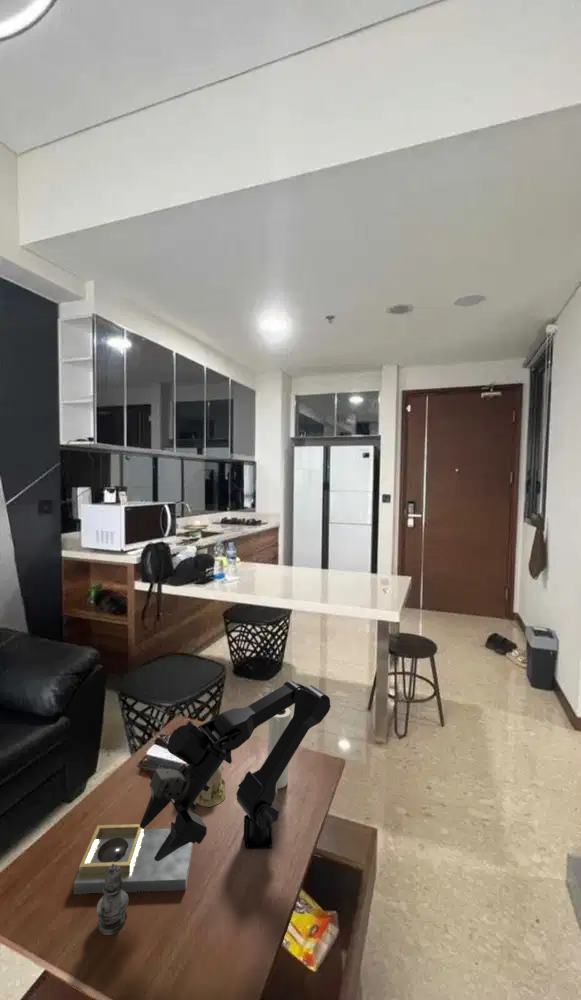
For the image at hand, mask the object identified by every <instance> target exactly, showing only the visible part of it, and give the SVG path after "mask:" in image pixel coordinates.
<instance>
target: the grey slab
mask: <svg viewBox="0 0 581 1000" xmlns="http://www.w3.org/2000/svg"><path fill="white" fill-rule="evenodd" d="M140 824H141V823H137V824H136V823H135V824H133V823H132V824H130V823H129V824H100V825H99V824H97V826H96V829H95V830H94V833H93V835H92V837H91V839H90V841H89V844H88V846H87V848H86V851H85V852H84V855H83V857H82V860H81V862H80V864H79V867H78V873H77V875H76V877H75V880H74V882H73V895H90V894H89V893H101V894H103V893H102V892H103V886H104V884H105V873H106V870H107V869H108V868H109V867H110V866H111V865H112V864H114V865H118V866H119V867H120V869H121V879H122V881H123V885H122V888H121V890H124V891H125V892H128V893H146V892H147V891H148V892H147V893H149V892H150V891H152V892H153V891H154V892H174V891H176V892H177V891H178V892H179V891H186V890H187V885H188V880H189V879H188V878H189V872H190V868H191V862H192V856H193V850H194V845H195V843H191V842H190V843H188V844H186V845H184V846H182V847H180V848H178V849H177V850H175V851H174V852H172V853H171V854H169V855H167V856H166V857H164V858H163V859H161V860H160V861H156V860H155V859H154V858H155V856H156V854H157V852H158V850H159V849H160V847H161V846H162V844H163V843H164V841H165V840H166V838H167V837H168V835H169V834H170V832H171V828H141V827H140ZM137 891H138V892H137ZM140 891H141V892H140ZM143 891H144V892H143ZM145 891H146V892H145ZM152 892H151V893H152ZM87 893H88V894H87Z"/></svg>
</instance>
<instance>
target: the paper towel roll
mask: <svg viewBox="0 0 581 1000" xmlns="http://www.w3.org/2000/svg"><path fill="white" fill-rule="evenodd" d="M290 721H291V709H290V708H289V707H288V708H286V709H285V710H283V711H282V712H280V713H278V714H277V715H275V716H274V717H272V718H270V719H269V720H268V738H267V739H268V745H267V748H268V749H267V757H268V756H269V754H270V753H271V751H272V749H273V748H274V746H275V745H276V743H277V741H278V740H279V738H280V737H281V735H282V733H283V732H284V730H285V729H286V727H287V726H288V724H289V722H290ZM288 781H289V764H288V765H287V766H286V768H285V770H284V771H283V773H282V774H281V776H280V778H279V779H278V781H277V783H276V790H275V795H278V789H279V790H280V789H283V788H285V787H286V786H287V784H288Z"/></svg>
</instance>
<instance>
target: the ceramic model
mask: <svg viewBox="0 0 581 1000" xmlns="http://www.w3.org/2000/svg"><path fill="white" fill-rule="evenodd" d="M185 765H187V766H188V764H187V763H186V762H185ZM223 771H224V765H223V764H221V765H220V766H219V768H218V769H217V771H216V772H215V774H214V775H213V776H212V778H211V779H210V781H209V782H208V785H209V787H210V788H209V789H208V791H207V792H206V791H205V790H203V791H202V792H201V794H200V795H199V796H198V798H197V799H196V801H195V803H196V805H197V804H198V805H199V806H202V807H209V808H210V807H213V806H215V805H216V806H217V805H218V804H220V803H222V802H224V800H225V798H226V791H225V786H226V780H225V779H224V777H223V776H222V773H223Z"/></svg>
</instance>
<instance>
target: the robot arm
mask: <svg viewBox="0 0 581 1000" xmlns="http://www.w3.org/2000/svg"><path fill="white" fill-rule="evenodd" d="M293 705H294V707H293V716H292V717H291V718H290V722H289V724H288V726H287V727H286V729H285V730H284V732H283V733H282V735H281V737H280V738H279V740H278V741H277V743H276V745H275V746H274V748H273V749H272V751H271V753H270V754H269V756H268V755H267V757H266V759H265V760H264V763H263V764H262V765H261V767H260V768H259V769H258V770H256V771H254V772H251V771H247V773H245V775H244V778H243V780H241V782H240V783H239V784H238V789H237V792H236V803H237V804H238V805H239V806H240V807H241V809H242V810H243V811H244V812H245V815H244V817H243V837H242V838H243V840H244V848H245V850H249V849H250V850H251V849H252V850H253V849H255V850H257V849H272V848H273V824H274V823H275V822H278V819H279V818H278V817H279V815H280V811H279V810H278V809H277V807H276V806H275V804H273V803H274V801H275V796H276V792H275V790H276V783H277V781H278V779H279V778H280V776H281V774H282V773H283V771H284V770H285V768H286V766H287V765H288V766H289V763H290V761H291V759H292V758H293V756H294V755H295V753H296V751H297V749H298V748H299V746H300V744H301V743H302V741H303V740H304V738H305V736H307V733H308V732H309V730H310V729H311V728H313V727H315V726H316V725H318V724H320V723H321V722H322V721H323V719H324V718H326V716H327V714H329V711H330V710H331V699H330V697H329V696H328V695H326V693H324V692H322V690H319V688H316V687H315V686H314V685H311V684H308V685H303V684H300V683H297V682H295V681H293V680H286V681H285V682H284V684H283V685H282V686H279V687H278V688H277V689H275V690H273V691H271V692H269V693H268V694H266V695H264V696H263V697H261V698H259V699H257V700H256V701H254V702H253V703H251V704H248V706H245V707H235V708H231V709H229V710H225V711H223V712H221V713H220V714H218V715H216V717H215V718H213V719H210V720H208V721H207V722H204V723H203V724H200V725H198V726H197V725H196V724H195V723H194V722H193V721H191V720H189V721H188V722H187V723H186V724H185V725H180V726H178V727H177V728H176V729H174V730H173V731H172V733H171V734H170V736H169V738H168V741H167V746H166V747H167V751H168V752H169V753H170V754H171V755H173V756H174V757H176V758H178V759H179V760H182V761H183V762H184V763H183V764H182V765H181V766H180V767H178V769H177V770H175V769H172V768H171V769H170V768H163V767H158V768H156V769H155V770H153V772H152V774H151V775H150V776H149V779H150V783H149V787H150V797H149V801H148V803H147V806H146V809H145V811H144V813H143V816H142V819H141V820H140V821H141V822H140V823H139V824H140V827H141V828H143V829H146V827H147V826H148V825H149V824H150V823H152V822H153V820H154V819H155V818H156V817H157V816H158V815H160V813H161V812H162V811H163V810H164V809H165V808H166V807H167V806H168V805H169V804H170V803H172V805H173V807H174V809H175V810H176V812H177V815H176V816H175V819H174V822H173V821H171V822H170V829H171V832H170V834H169V835H168V837H167V838H166V840H165V841H164V843H163V844H162V846H161V847H160V849H159V850H158V852H157V854H156V856H155V858H154V859H155V860H156V861H160V860H161V859H163V858H164V857H166V856H167V855H169V854H171V853H172V852H174V851H175V850H177V849H178V848H180V847H182V846H184V845H186V844H188V843H190V842H191V843H194V844H195V843H196V844H199V845H201V844H202V841H203V840H204V838H205V837H206V835H207V830H208V829H207V826H206V824H205V823H204V821H203V819H202V818H201V816H200V815H199V814H198V815H197V814H196V813H194V812H192V811H195V809H196V808H197V806H198V805H197V803H195V801H196V799H197V798H198V796H199V795H200V794H201V792H202V791H203V790H205V791H206V792H207V791H208V789H209V788H210V787H209V785H208V782H209V781H210V779H211V778H212V776H213V775H214V774H215V772H216V771H217V769H218V768H219V766H220V765H221V764H222V763H224V761H225V762H226V763H228V764H229V765H230V764H232V762H233V761H232V758H233V757H232V751H234V750H237V749H238V748H239V747H241V746H242V745H243V744H244V743H246V742H247V741H248V740H249V739H250V738H251V736H252V734H253V733H254V730H255V729H256V728H258V727H259V726H261V725H263V724H264V723H265V722H267V721H269V719H270V718H272V717H274V716H275V715H277V714H278V713H280V712H282V711H283V710H285V709H286V708H289V707H291V706H293ZM186 763H187V764H188V766H187V765H186ZM222 765H223V764H222ZM190 809H191V810H192V811H190Z"/></svg>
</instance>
